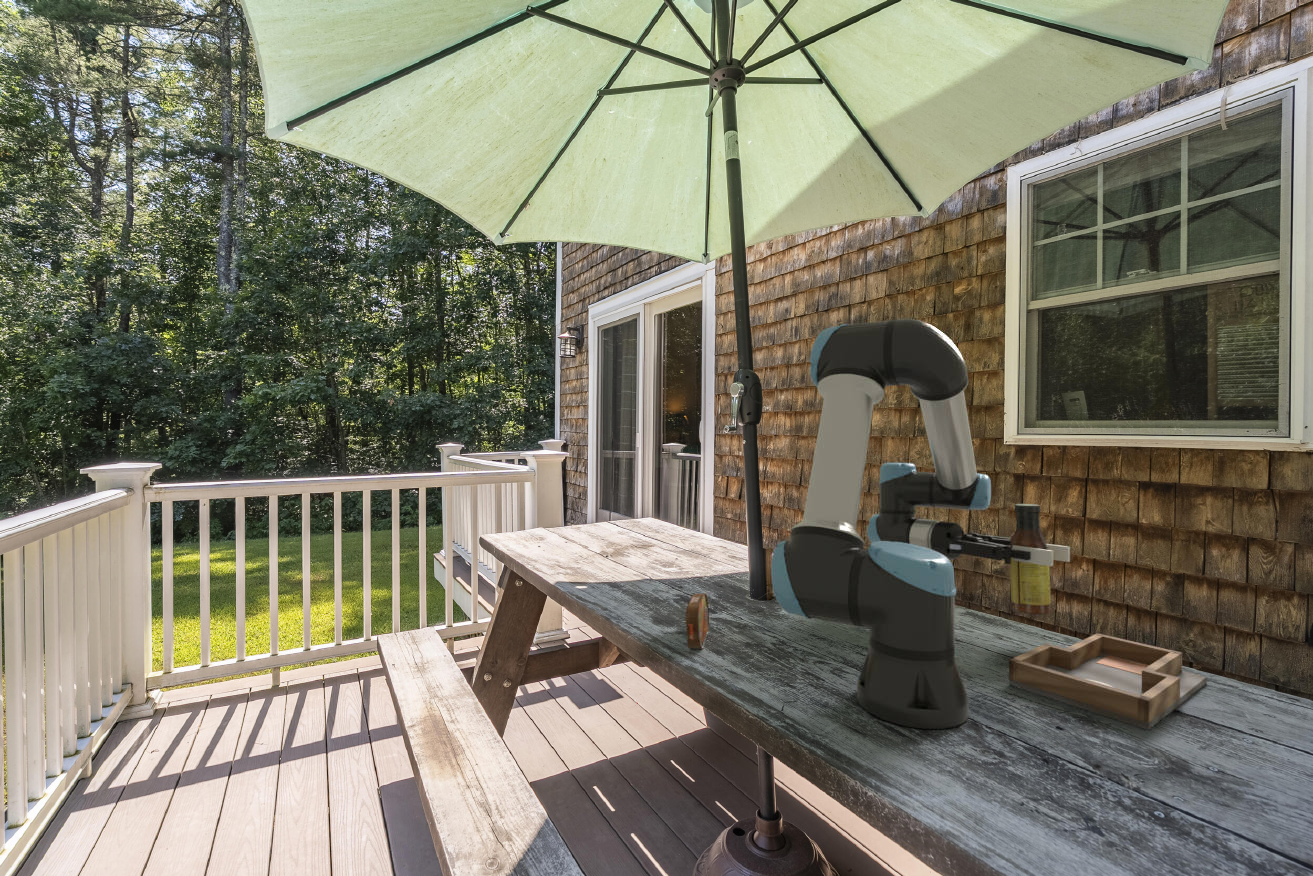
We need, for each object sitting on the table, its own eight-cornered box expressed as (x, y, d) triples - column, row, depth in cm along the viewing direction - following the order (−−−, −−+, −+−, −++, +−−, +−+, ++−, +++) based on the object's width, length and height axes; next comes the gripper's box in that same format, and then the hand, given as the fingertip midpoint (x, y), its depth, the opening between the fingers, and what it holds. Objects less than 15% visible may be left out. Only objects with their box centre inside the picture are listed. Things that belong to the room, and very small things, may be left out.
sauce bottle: (1058, 614, 112) (1058, 505, 112) (1034, 617, 110) (1034, 507, 110) (1025, 605, 118) (1025, 502, 118) (1002, 608, 116) (1002, 503, 116)
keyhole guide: (1148, 730, 82) (1148, 700, 82) (1008, 685, 97) (1009, 660, 97) (1206, 683, 97) (1206, 658, 97) (1077, 650, 112) (1077, 628, 112)
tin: (700, 656, 111) (700, 609, 111) (683, 655, 111) (683, 609, 111) (710, 629, 125) (710, 588, 125) (695, 628, 126) (694, 588, 126)
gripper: (962, 552, 134) (1082, 570, 115) (911, 561, 123) (1036, 584, 104) (962, 517, 134) (1083, 531, 115) (912, 524, 123) (1036, 540, 104)
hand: (1060, 556), depth 110 cm, fingers closed on sauce bottle, 6 cm apart
